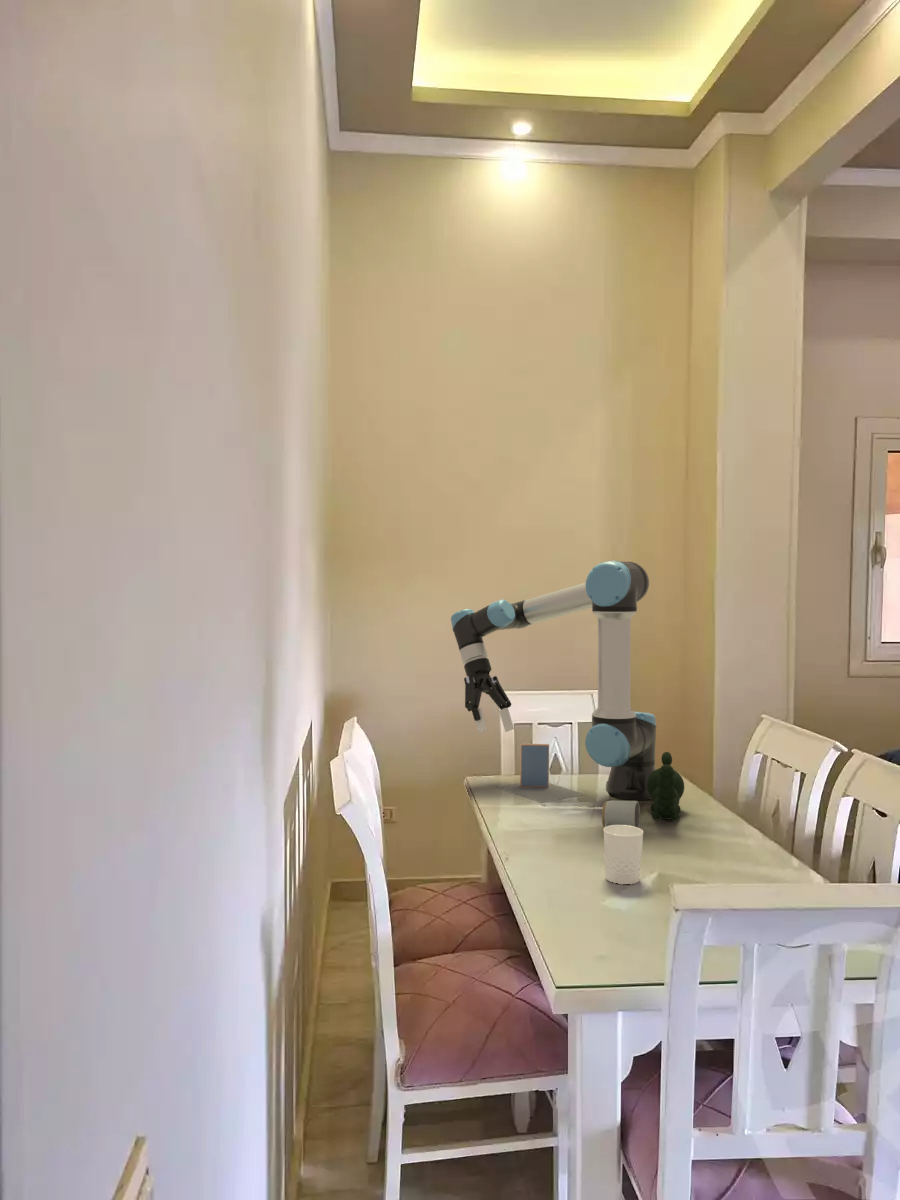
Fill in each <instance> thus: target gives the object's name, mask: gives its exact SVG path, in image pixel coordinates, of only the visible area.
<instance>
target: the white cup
mask: <svg viewBox="0 0 900 1200" xmlns="http://www.w3.org/2000/svg"><path fill="white" fill-rule="evenodd" d="M643 839H644V830H643V829H642V828H640V827H639V828H637V827H634V826H629V825H610V826H607V827H605V828H604V827H603V853H604V855H603V858H604V866H605V869H604V870H605V872H604V873H605V879H606V880H607V882H611V883H612V882H613V884H616V883H618V884H617V885H623V884H630V885H635V884H637V883H639V882H640V876H641V874H640V873H641V868H642V855H643V845H644V844H643V842H644V841H643Z"/></svg>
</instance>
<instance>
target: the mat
mask: <svg viewBox="0 0 900 1200" xmlns="http://www.w3.org/2000/svg"><path fill="white" fill-rule="evenodd" d="M519 783H520V782H519ZM519 783H513V784H508V785H507V784H505V785H501V786H495V788H497V789H500V790H502V791H505V792H508V793H511V794H515V795H517V796H520V797H522V798H523V797H524V798H527V799H529V800H533V801H535V802H538V803H541V804H543V803H547V802H553V801H559V800H565V799H570V798H571V799H572V798H576V797H582V796H586V795H587V794H585V793H583V792H579V791H576V790H572V789H569V788H567V787H563V786H560V785H557V784H552V783H550V782H549V787H520V784H519Z"/></svg>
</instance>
